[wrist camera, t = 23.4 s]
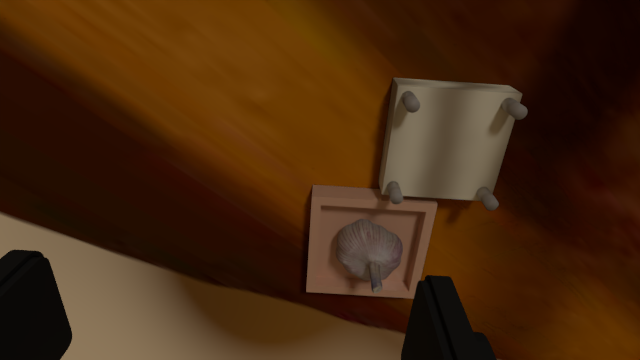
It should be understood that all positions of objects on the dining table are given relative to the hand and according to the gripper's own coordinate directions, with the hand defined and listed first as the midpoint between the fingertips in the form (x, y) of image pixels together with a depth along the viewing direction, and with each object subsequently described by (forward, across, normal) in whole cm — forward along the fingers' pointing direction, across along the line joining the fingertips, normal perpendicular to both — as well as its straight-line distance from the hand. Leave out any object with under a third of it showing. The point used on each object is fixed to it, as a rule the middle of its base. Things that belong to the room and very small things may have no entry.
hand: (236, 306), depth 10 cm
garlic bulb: (+30, -8, +19) cm, 36 cm away
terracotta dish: (+30, -8, +19) cm, 37 cm away
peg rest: (+30, -14, +6) cm, 34 cm away
